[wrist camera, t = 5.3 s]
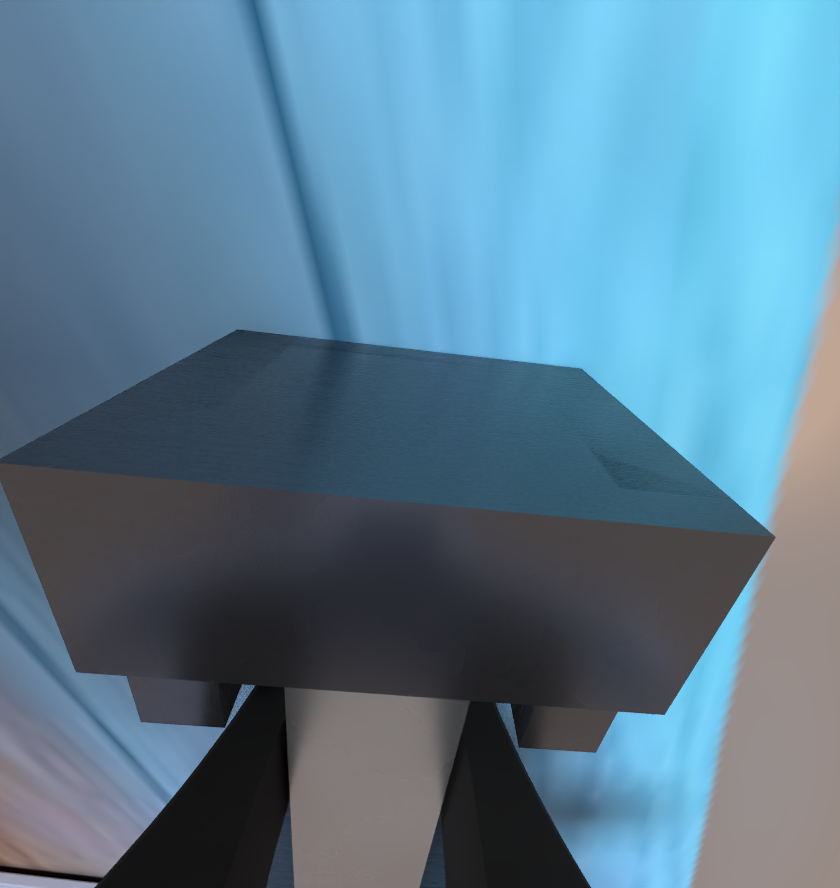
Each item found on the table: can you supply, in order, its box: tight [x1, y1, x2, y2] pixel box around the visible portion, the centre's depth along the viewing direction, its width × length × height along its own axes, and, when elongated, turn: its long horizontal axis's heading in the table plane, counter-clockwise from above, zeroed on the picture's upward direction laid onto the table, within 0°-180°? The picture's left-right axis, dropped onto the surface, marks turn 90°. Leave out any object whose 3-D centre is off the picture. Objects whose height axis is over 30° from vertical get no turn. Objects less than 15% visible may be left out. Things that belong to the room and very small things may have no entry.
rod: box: [284, 687, 470, 888], centre depth 11 cm, size 18×3×3 cm, turn 173°
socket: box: [0, 330, 775, 753], centre depth 7 cm, size 5×7×5 cm
